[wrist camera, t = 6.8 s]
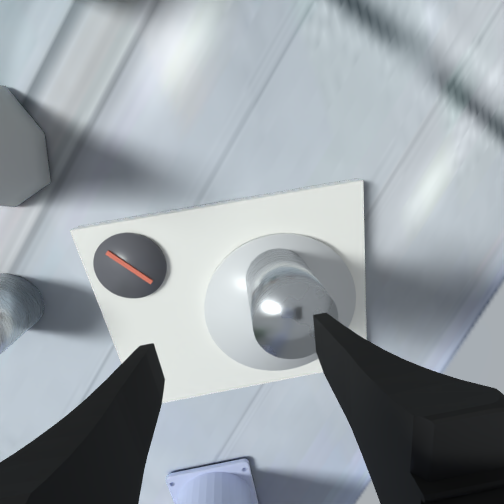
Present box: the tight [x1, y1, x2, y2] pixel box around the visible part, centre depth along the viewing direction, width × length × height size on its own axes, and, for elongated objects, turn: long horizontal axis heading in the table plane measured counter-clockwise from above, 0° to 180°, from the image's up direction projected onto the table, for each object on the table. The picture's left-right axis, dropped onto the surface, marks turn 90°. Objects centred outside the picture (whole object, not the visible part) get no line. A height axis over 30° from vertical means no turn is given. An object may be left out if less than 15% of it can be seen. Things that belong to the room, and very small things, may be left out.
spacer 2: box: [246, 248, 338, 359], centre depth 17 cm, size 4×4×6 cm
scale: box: [70, 179, 367, 403], centre depth 21 cm, size 15×19×2 cm
